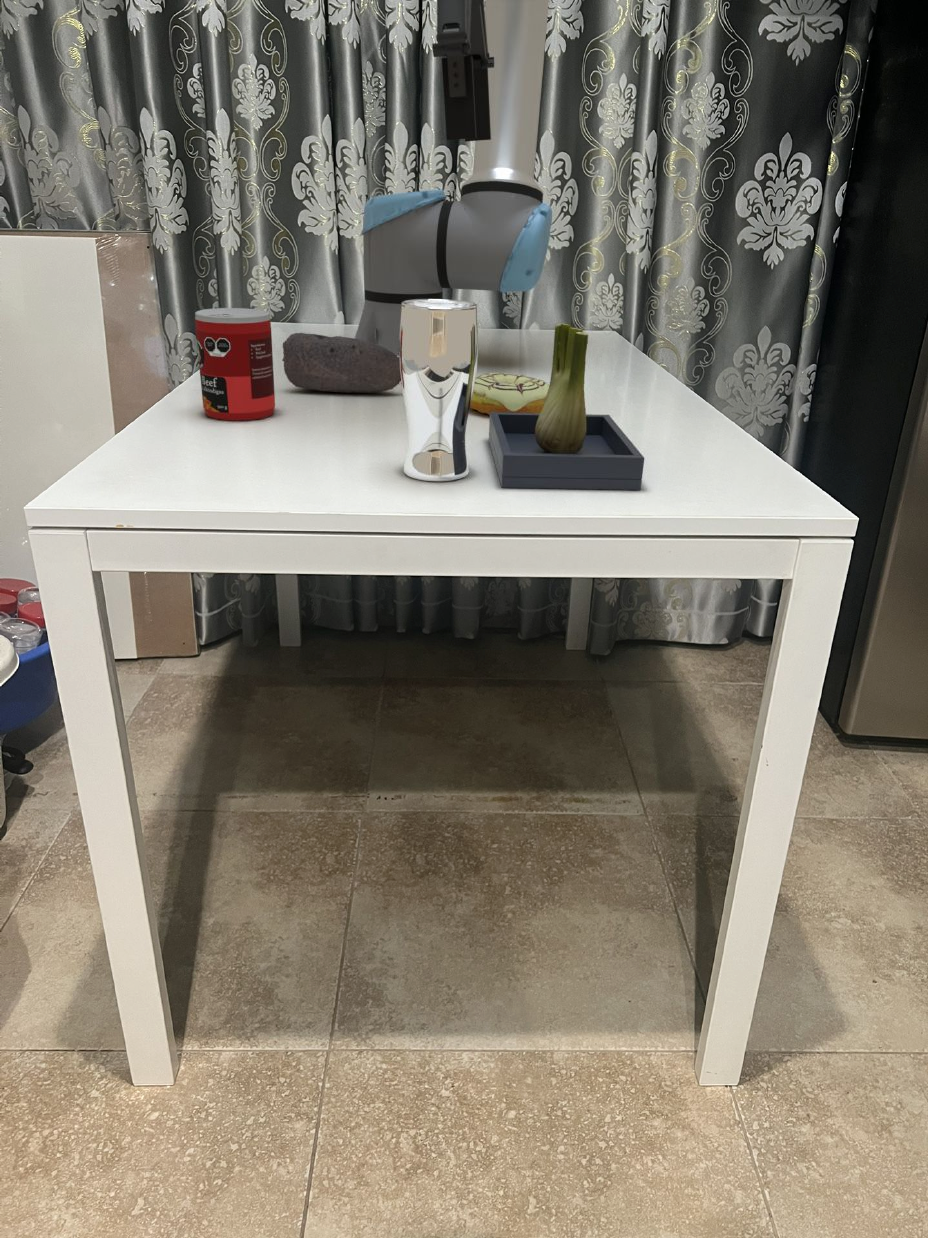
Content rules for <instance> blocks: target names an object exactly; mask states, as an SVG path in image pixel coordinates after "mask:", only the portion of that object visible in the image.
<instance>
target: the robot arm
mask: <svg viewBox="0 0 928 1238" xmlns="http://www.w3.org/2000/svg"><path fill="white" fill-rule="evenodd" d="M436 1H437V2H436V35H435V39H436V42H435V43H432V44H431V45H432V47H431V48H432V49H431V50H432V55H433V58H441V71H442V85H443V103H444V118H445V119H444V120H445V133H446V141H457V140H464V142H475V144H474V157H473V171H472V175H470V177H468V178H467V180H465V181H464V182H463V183H462V184H461V187H460V188H461V189H460V199H459V200H457V201H456V200H447V195H446V192H445V190H443V189H429V190H420V191H419V190H418V191H409V192H401V193H399V192H398V193H391V194H383V195H376V196H373V197H371V198H369V199H368V200H367V201H366V202H365V205H364V209H363V227H362V228H363V229H362V231H361V235H362V238H363V240H362V241H363V242H362V243H363V244H362V245H363V285H364V286H363V290H364V292H363V293H364V295H363V296H364V300H363V302H364V303H363V309H362V312H361V316H360V320H359V322H358V326H357V329H356V332H355V336H354V338H355V339H360V340H364V341H368V342H371V343H374V344H377V345H380V346H382V347H384V348H386V349H388V350H390V351H391V352H393V353H394V354H395V355H397V356H398V357H399V334H400V321H401V308H402V304H401V303H402V302H403V301H406V300H414V299H444V296H443V294H444V289H453V290H472V291H490V292H491V291H493V292H500V293H502V294H506V293H508V292H516V293H517V292H520V293H521V292H529V291H531V290H533V289H534V288H535V287H536V286H537V284H538V283H539V281H540V278H541V275H542V272H543V270H544V265H545V262H546V258H547V255H548V254H547V253H548V249H549V243H550V237H551V230H552V229H551V228H552V223H553V209H552V206H551V205H549V204H547V203H546V202H545V203H543V201H544V190H543V189H542V187H541V186H540V185H539V184H538V183H537V182H536V180H535V171H536V170H535V169H536V160H537V159H536V158H537V157H536V156H537V145H538V136H539V135H538V134H539V132H538V131H539V121H540V111H541V97H542V87H543V75H544V74H543V73H544V63H545V62H544V61H545V50H546V39H547V38H546V37H547V28H548V27H547V26H548V15H549V6H550V5H549V3H550V0H436Z"/></svg>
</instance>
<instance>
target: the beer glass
mask: <svg viewBox="0 0 928 1238" xmlns="http://www.w3.org/2000/svg"><path fill="white" fill-rule="evenodd" d="M401 304H402V308H401V321H400V334H399V369H400V378H401V381H400V385H401V391H402V398H403V403H404V409H405V410H404V411H405V415H406V421H407V448H406V454H405V460H404V462H403V463H404V464H403V473H404V474H405V475H406V476H407V477H409V478H412V479H415V480H419V481H425V482H427V481H428V482H452V481H457V480H461V479H463V478H465V477H467V476H468V475H469V462H468V457H467V455H468V454H467V449H466V447H467V446H466V432H467V423H468V418H469V414H470V409H471V407H470V404H471V399H472V394H473V389H474V384H475V378H476V376H477V371H478V358H479V357H478V356H479V327H478V304H477V303H475V302H473V301H467V300H459V299H446V298H443V299H414V300H406V301H403V302H402V303H401Z"/></svg>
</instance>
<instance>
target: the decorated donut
mask: <svg viewBox="0 0 928 1238" xmlns="http://www.w3.org/2000/svg"><path fill="white" fill-rule="evenodd" d="M549 385H550V383H549V384H548V383H547V382H545V381H544V380H542V379H540V378H537V377H536V378H535V377H532V376H529V375H523V374H516V373H505V372H487V373H483V374H479V375H476V378H475V384H474V389H473V394H472V399H471V404H470V409H472V410H476V411H478V413H481V414H487V415H489V416H490V412H503V413H541V411H542V409H543V407H544V403H545V400H546V396H547V392H548V389H549Z"/></svg>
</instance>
